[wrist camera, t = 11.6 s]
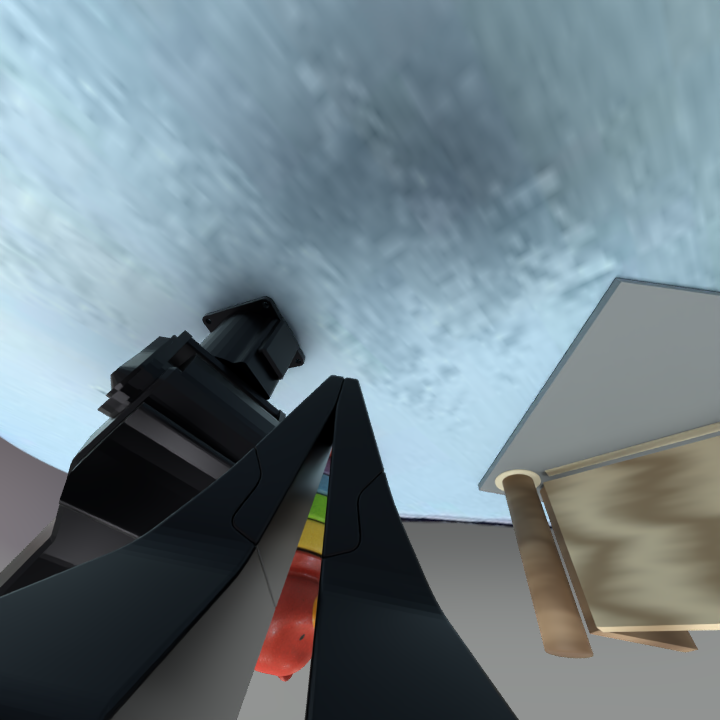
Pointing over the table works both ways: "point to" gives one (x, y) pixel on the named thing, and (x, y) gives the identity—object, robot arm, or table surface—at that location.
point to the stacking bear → (298, 598)
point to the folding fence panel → (646, 538)
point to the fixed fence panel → (562, 580)
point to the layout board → (623, 386)
